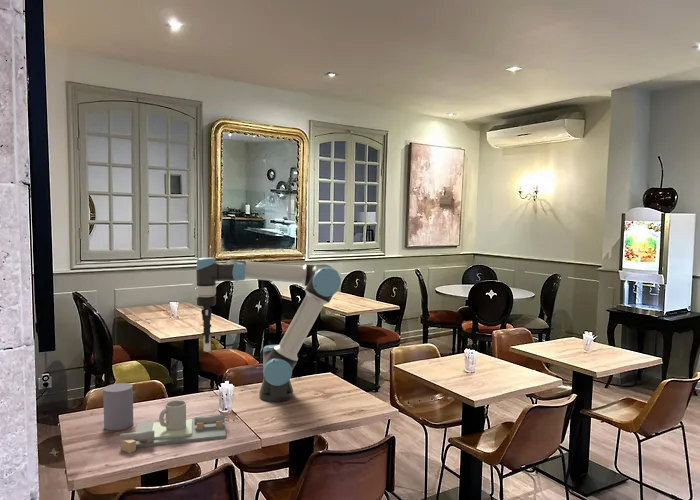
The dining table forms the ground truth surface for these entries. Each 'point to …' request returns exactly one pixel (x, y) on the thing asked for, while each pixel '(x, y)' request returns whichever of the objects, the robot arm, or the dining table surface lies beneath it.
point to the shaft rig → (174, 433)
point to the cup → (174, 415)
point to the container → (118, 406)
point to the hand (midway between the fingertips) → (206, 346)
